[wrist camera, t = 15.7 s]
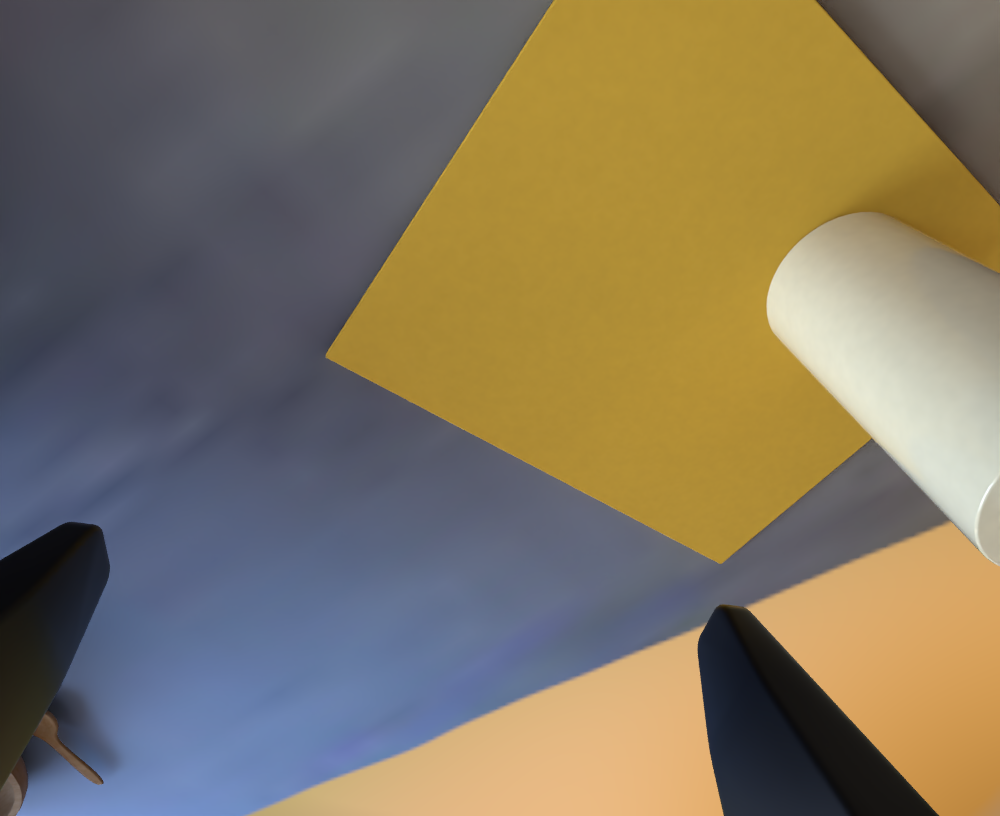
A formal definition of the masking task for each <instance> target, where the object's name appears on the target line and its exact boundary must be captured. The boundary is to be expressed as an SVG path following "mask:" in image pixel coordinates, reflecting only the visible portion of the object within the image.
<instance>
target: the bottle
mask: <svg viewBox="0 0 1000 816" xmlns="http://www.w3.org/2000/svg"><path fill="white" fill-rule="evenodd" d="M767 317H768V322H769V325H770V327H771V330H772V331H773V333H774V335H775V336H776V337H777V338H778V340H779V341H780V342H781V343H782V344H783V345H784V346H785V347H786V348H787V349H788V350H789V351H790V352H791V353H792V355H793V356H794V357H795V358H796V359H797V360H798V361H799V362H800V363H801V364H802V365H803V366H804V367H805V368H806V369H807V370H808V371H809V372H810V373H811V374H812V376H813V377H814V378H815V379H816V380H817V381H818V382H819V383H820V384H821V385H822V386H823V387H824V388H825V389H826V390H827V391H828V392H829V393H830V394H831V395H832V397H833V398H834V399H835V400H836V401H837V402H838V403H839V404H840V405H841V406H842V407H843V408H844V409H845V410H846V411H847V412H848V413H849V414H850V415H851V417H852V418H853V419H854V420H855V421H856V422H857V423H858V424H859V425H860V426H861V427H862V428H863V429H864V430H865V431H866V432H867V433H868V434H869V435H870V436H871V438H872V439H873V440H874V441H875V442H876V443H877V444H878V445H879V446H880V447H881V448H882V449H883V450H884V451H885V452H886V453H887V454H888V455H889V456H890V457H891V459H892V460H893V461H894V462H895V463H896V464H897V465H898V466H899V467H900V468H901V469H902V470H903V471H904V472H905V473H906V474H907V475H908V476H909V477H910V479H911V480H912V481H913V482H914V483H915V484H916V485H917V486H918V487H919V488H920V489H921V490H922V491H923V492H924V493H925V494H926V495H927V496H928V497H929V498H930V500H931V501H932V502H933V503H934V504H935V505H936V506H937V507H938V508H939V509H940V510H941V511H942V512H943V513H944V514H945V515H946V516H947V517H948V518H949V519H950V521H951V522H952V523H953V524H954V525H955V526H956V527H957V528H958V529H959V530H960V531H961V532H962V533H963V534H964V535H965V536H966V537H967V538H968V539H969V540H970V541H971V543H972V544H973V545H974V546H975V547H976V548H977V549H978V550H979V551H980V552H981V553H982V554H983V555H984V556H985V557H986V558H987V559H988V560H990V561H991V562H993V563H995V564H996V565H999V566H1000V272H998V271H996V270H994V269H992V268H990V267H988V266H987V265H985V264H983V263H981V262H979V261H977V260H975V259H973V258H971V257H969V256H967V255H966V254H964V253H962V252H960V251H958V250H956V249H954V248H952V247H950V246H948V245H946V244H945V243H943V242H941V241H939V240H937V239H935V238H933V237H931V236H929V235H927V234H925V233H924V232H922V231H920V230H918V229H916V228H914V227H912V226H910V225H908V224H906V223H904V222H903V221H901V220H899V219H897V218H895V217H892V216H890V215H887V214H883V213H878V212H859V213H853V214H848V215H844V216H841V217H838V218H835V219H833V220H831V221H828V222H826V223H825V224H823V225H821V226H819V227H817V228H816V229H814V230H813V231H811V232H810V233H809V234H807V235H806V236H805V237H804V238H802V239H801V240H800V241H799V242H798V243H797V244H796V245H795V246H794V247H793V248H792V249H791V250H790V251H789V253H788V254H787V255H786V256H785V258H784V259H783V261H782V262H781V264H780V265H779V267H778V268H777V270H776V272H775V274H774V276H773V279H772V281H771V284H770V287H769V291H768V295H767Z"/></svg>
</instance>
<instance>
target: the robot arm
mask: <svg viewBox="0 0 1000 816" xmlns="http://www.w3.org/2000/svg"><path fill="white" fill-rule="evenodd" d="M109 572H110V564H109V559H108V554H107V549H106V545H105V540H104V535H103V532H102V529H101V528H100V527H99V526H97V525H93V524H85V523H77V522H67V523H64V524H62V525H60V526H58V527H56V528H55V529H53V530H51V531H50V532H48V533H46V534H45V535H43V536H41V537H39V538H38V539H36V540H34V541H33V542H31V543H29V544H27V545H26V546H24V547H22V548H21V549H19V550H17V551H15V552H14V553H12V554H10V555H9V556H7V557H5V558H3V559H2V560H0V791H1V789H2V788H3V786H4V784H5V782H6V781H7V779H8V777H9V776H10V774H11V772H12V770H13V769H14V767H15V765H16V763H17V762H18V760H19V758H20V756H21V755H22V753H23V751H24V750H25V748H26V746H27V744H28V743H29V741H30V739H31V737H32V736H33V734H34V732H35V730H36V729H37V727H38V725H39V724H40V722H41V720H42V718H43V717H44V715H45V713H46V711H47V710H48V708H49V706H50V704H51V703H52V701H53V699H54V697H55V695H56V693H57V692H58V690H59V688H60V686H61V684H62V682H63V680H64V678H65V676H66V674H67V671H68V669H69V667H70V665H71V663H72V660H73V658H74V656H75V654H76V651H77V649H78V647H79V644H80V642H81V640H82V638H83V635H84V633H85V631H86V629H87V626H88V624H89V622H90V620H91V617H92V615H93V613H94V610H95V608H96V606H97V604H98V601H99V599H100V597H101V595H102V592H103V590H104V588H105V586H106V583H107V581H108V577H109ZM698 659H699V668H700V676H701V684H702V693H703V702H704V710H705V719H706V727H707V735H708V742H709V749H710V754H711V760H712V765H713V769H714V774H715V778H716V782H717V787H718V792H719V796H720V800H721V804H722V809H723V814H724V816H939V815H938V814H937V813H936V812H935V811H934V810H933V809H932V808H931V807H930V806H929V804H928V803H927V802H926V801H925V800H924V799H923V798H922V797H921V796H920V795H919V794H918V792H917V791H916V790H915V789H914V788H913V787H912V786H911V785H910V784H909V783H908V782H907V781H906V779H904V777H903V776H902V775H901V774H900V773H899V772H898V771H897V770H896V769H895V768H894V766H893V765H892V764H891V763H890V762H889V761H888V760H887V759H886V758H885V757H884V756H883V755H882V754H881V752H880V751H879V750H878V749H877V748H876V747H875V746H874V745H873V744H872V743H871V742H870V741H869V739H867V737H866V736H865V735H864V734H863V733H862V732H861V731H860V730H859V729H858V728H857V726H856V725H855V724H854V723H853V722H852V721H851V720H850V719H849V718H848V717H847V716H846V715H845V714H844V712H843V711H842V710H841V709H840V708H839V707H838V706H837V705H836V704H835V703H834V702H833V700H832V699H831V698H830V697H829V696H828V695H827V694H826V693H825V692H824V691H823V690H822V689H821V688H820V686H819V685H817V683H816V682H815V681H814V680H813V679H812V678H811V677H810V676H809V675H808V673H807V672H806V671H805V670H804V669H803V668H802V667H801V666H800V665H799V664H798V663H797V662H796V661H795V659H794V658H793V657H792V656H791V655H790V654H789V653H788V652H787V651H786V650H785V649H784V648H783V646H782V645H781V644H780V643H779V642H778V641H777V640H776V639H775V638H774V637H773V636H772V635H771V633H770V632H768V630H767V629H766V628H765V627H764V626H763V625H762V624H761V623H760V622H759V621H758V620H757V618H756V617H755V616H754V615H753V614H752V613H751V612H750V611H749V610H748V609H746V608H744V607H740V606H732V605H719V606H718V607H716V609H715V610H714V612H713V614H712V616H711V617H710V619H709V621H708V623H707V624H706V626H705V628H704V630H703V632H702V633H701V635H700V638H699V641H698Z"/></svg>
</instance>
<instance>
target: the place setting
mask: <svg viewBox="0 0 1000 816" xmlns="http://www.w3.org/2000/svg"><path fill="white" fill-rule="evenodd" d="M58 727H59V726H58V721H57V719H56V718H55V716H54V715H53V714H52V713H51V712H50V711H49V710H47V711H46V713H45V715H44V717H43V718H42V720H41V722H40V724H39V725H38V727H37V729H36V730H35V732H34V734H33V735H34V736H36V737H38V738H40V739H42V740H44V741H45V742H47V743H48V744H49V745H50V746H52V747H53V748H54V749H55V750H56V751H57V752H58V753H59V754H60V755H62V756H63V757H64V758H65V759H66V760H67V761H68V762H69V763H70V764H71V765H72V766H73V767H74V768H75V769H77V770H78V771H79V772H80V773H81V774H82V775H83V776H85V777H86V778H87V779H89V780H90V781H92V782H93V783H95V784H98V785H100V784H103V780H102V779H101V777H100V776H99V775H98V774H97V773H96V772H95V771H94V770H93V769H92V768H91V767H90V766H88V765H87V764H86V763H85V762H84V761H82V760H81V759H80V758H79V757H78V756H76V755H75V754H74V753H73V752H72V751H71V750H69V749H68V748H67V747H66V746H65V745H64V744H63V743H62V742H61V741H60V739H59V738H58V735H57V732H58ZM27 787H28V774H27V770H26V766H25V763H24V761H23V759H22V757H21V756H20V758H19V760H18V762H17V763H16V765H15V767H14V769H13V770H12V772H11V774H10V776H9V777H8V779H7V781H6V782H5V784H4V786H3V788H2V789H1V791H0V816H16V814H17V813H18V811H19V810H20V808H21V806H22V803H23V801H24V798H25V795H26V791H27Z"/></svg>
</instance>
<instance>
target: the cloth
mask: <svg viewBox="0 0 1000 816" xmlns="http://www.w3.org/2000/svg"><path fill="white" fill-rule="evenodd" d="M859 212H878V213H883V214H887V215H890V216H892V217H895V218H897V219H899V220H901V221H903V222H904V223H906V224H908V225H910V226H912V227H914V228H916V229H918V230H920V231H922V232H924V233H925V234H927V235H929V236H931V237H933V238H935V239H937V240H939V241H941V242H943V243H945V244H946V245H948V246H950V247H952V248H954V249H956V250H958V251H960V252H962V253H964V254H966V255H967V256H969V257H971V258H973V259H975V260H977V261H979V262H981V263H983V264H985V265H987V266H988V267H990V268H992V269H994V270H996V271H998V272H1000V205H999V204H998V203H997V202H996V201H995V200H994V199H993V198H992V196H991V195H990V194H989V193H988V192H987V191H986V190H985V189H984V188H983V186H982V185H981V184H980V183H979V182H978V181H977V180H976V179H975V177H974V176H973V175H972V174H971V173H970V172H969V171H968V170H967V169H966V167H965V166H964V165H963V164H962V163H961V162H960V161H959V160H958V158H957V157H956V156H955V155H954V154H953V153H952V152H951V151H950V150H949V148H948V147H947V146H946V145H945V144H944V143H943V142H942V141H941V139H940V138H939V137H938V136H937V135H936V134H935V133H934V132H933V131H932V129H931V128H930V127H929V126H928V125H927V124H926V123H925V122H924V121H923V119H922V118H921V117H920V116H919V115H918V114H917V113H916V112H915V110H914V109H913V108H912V107H911V106H910V105H909V104H908V103H907V102H906V100H905V99H904V98H903V97H902V96H901V95H900V94H899V93H898V91H897V90H896V89H895V88H894V87H893V86H892V85H891V84H890V83H889V81H888V80H887V79H886V78H885V77H884V76H883V75H882V74H881V72H880V71H879V70H878V69H877V68H876V67H875V66H874V65H873V64H872V62H871V61H870V60H869V59H868V58H867V57H866V56H865V55H864V54H863V52H862V51H861V50H860V49H859V48H858V47H857V46H856V45H855V43H854V42H853V41H852V40H851V39H850V38H849V37H848V36H847V35H846V33H845V32H844V31H843V30H842V29H841V28H840V27H839V26H838V24H837V23H836V22H835V21H834V20H833V19H832V18H831V17H830V16H829V14H828V13H827V12H826V11H825V10H824V9H823V8H822V7H821V5H820V4H819V3H818V2H817V1H816V0H554V1H553V2H552V4H551V5H550V7H549V8H548V10H547V11H546V13H545V15H544V16H543V18H542V19H541V21H540V22H539V24H538V25H537V27H536V29H535V30H534V32H533V33H532V35H531V36H530V38H529V39H528V41H527V42H526V44H525V46H524V47H523V49H522V50H521V52H520V53H519V55H518V56H517V58H516V60H515V61H514V63H513V64H512V66H511V67H510V69H509V70H508V72H507V74H506V75H505V77H504V78H503V80H502V81H501V83H500V84H499V86H498V87H497V89H496V91H495V92H494V94H493V95H492V97H491V98H490V100H489V101H488V103H487V105H486V106H485V108H484V109H483V111H482V112H481V114H480V115H479V117H478V119H477V120H476V122H475V123H474V125H473V126H472V128H471V129H470V131H469V133H468V134H467V136H466V137H465V139H464V140H463V142H462V143H461V145H460V146H459V148H458V150H457V151H456V153H455V154H454V156H453V157H452V159H451V160H450V162H449V164H448V165H447V167H446V168H445V170H444V171H443V173H442V174H441V176H440V178H439V179H438V181H437V182H436V184H435V185H434V187H433V188H432V190H431V192H430V193H429V195H428V196H427V198H426V199H425V201H424V202H423V204H422V205H421V207H420V209H419V210H418V212H417V213H416V215H415V216H414V218H413V219H412V221H411V223H410V224H409V226H408V227H407V229H406V230H405V232H404V233H403V235H402V237H401V238H400V240H399V241H398V243H397V244H396V246H395V247H394V249H393V251H392V252H391V254H390V255H389V257H388V258H387V260H386V261H385V263H384V264H383V266H382V268H381V269H380V271H379V272H378V274H377V275H376V277H375V278H374V280H373V282H372V283H371V285H370V286H369V288H368V289H367V291H366V292H365V294H364V296H363V297H362V299H361V300H360V302H359V303H358V305H357V306H356V308H355V309H354V311H353V313H352V314H351V316H350V317H349V319H348V320H347V322H346V323H345V325H344V327H343V328H342V330H341V331H340V333H339V334H338V336H337V337H336V339H335V341H334V342H333V344H332V345H331V347H330V348H329V350H328V351H327V353H326V358H328V359H330V360H332V361H334V362H336V363H338V364H340V365H342V366H344V367H345V368H347V369H349V370H351V371H353V372H355V373H357V374H359V375H361V376H363V377H365V378H366V379H368V380H370V381H372V382H374V383H376V384H378V385H380V386H382V387H384V388H386V389H387V390H389V391H391V392H393V393H395V394H397V395H399V396H401V397H403V398H405V399H407V400H408V401H410V402H412V403H414V404H416V405H418V406H420V407H422V408H424V409H426V410H428V411H429V412H431V413H433V414H435V415H437V416H439V417H441V418H443V419H445V420H447V421H449V422H450V423H452V424H454V425H456V426H458V427H460V428H462V429H464V430H466V431H468V432H470V433H471V434H473V435H475V436H477V437H479V438H481V439H483V440H485V441H487V442H489V443H491V444H492V445H494V446H496V447H498V448H500V449H502V450H504V451H506V452H508V453H510V454H512V455H513V456H515V457H517V458H519V459H521V460H523V461H525V462H527V463H529V464H531V465H533V466H534V467H536V468H538V469H540V470H542V471H544V472H546V473H548V474H550V475H552V476H554V477H555V478H557V479H559V480H561V481H563V482H565V483H567V484H569V485H571V486H573V487H574V488H576V489H578V490H580V491H582V492H584V493H586V494H588V495H590V496H592V497H594V498H595V499H597V500H599V501H601V502H603V503H605V504H607V505H609V506H611V507H613V508H615V509H616V510H618V511H620V512H622V513H624V514H626V515H628V516H630V517H632V518H634V519H636V520H637V521H639V522H641V523H643V524H645V525H647V526H649V527H651V528H653V529H655V530H657V531H658V532H660V533H662V534H664V535H666V536H668V537H670V538H672V539H674V540H676V541H678V542H679V543H681V544H683V545H685V546H687V547H689V548H691V549H693V550H695V551H697V552H699V553H700V554H702V555H704V556H706V557H708V558H710V559H712V560H714V561H716V562H718V563H720V564H722V563H723V562H724V561H725V560H726V559H728V558H729V557H730V556H731V555H732V554H734V553H735V552H736V551H737V550H738V549H740V548H741V547H742V546H743V545H744V544H746V543H747V542H748V541H749V540H750V539H752V538H753V537H754V536H755V535H756V534H758V533H759V532H760V531H761V530H762V529H764V528H765V527H766V526H767V525H768V524H770V523H771V522H772V521H773V520H774V519H776V518H777V517H778V516H779V515H780V514H782V513H783V512H784V511H785V510H786V509H788V508H789V507H790V506H791V505H792V504H794V503H795V502H796V501H797V500H798V499H800V498H801V497H802V496H803V495H804V494H806V493H807V492H808V491H809V490H810V489H812V488H813V487H814V486H815V485H816V484H818V483H819V482H820V481H821V480H822V479H824V478H825V477H826V476H827V475H828V474H830V473H831V472H832V471H833V470H834V469H836V468H837V467H838V466H839V465H840V464H842V463H843V462H844V461H845V460H846V459H848V458H849V457H850V456H851V455H852V454H854V453H855V452H856V451H857V450H858V449H860V448H861V447H862V446H863V445H864V444H866V443H867V442H868V441H869V440H870V439H872V438H871V436H870V435H869V434H868V433H867V432H866V431H865V430H864V429H863V428H862V427H861V426H860V425H859V424H858V423H857V422H856V421H855V420H854V419H853V418H852V417H851V415H850V414H849V413H848V412H847V411H846V410H845V409H844V408H843V407H842V406H841V405H840V404H839V403H838V402H837V401H836V400H835V399H834V398H833V397H832V395H831V394H830V393H829V392H828V391H827V390H826V389H825V388H824V387H823V386H822V385H821V384H820V383H819V382H818V381H817V380H816V379H815V378H814V377H813V376H812V374H811V373H810V372H809V371H808V370H807V369H806V368H805V367H804V366H803V365H802V364H801V363H800V362H799V361H798V360H797V359H796V358H795V357H794V356H793V355H792V353H791V352H790V351H789V350H788V349H787V348H786V347H785V346H784V345H783V344H782V343H781V342H780V341H779V340H778V338H777V337H776V336H775V335H774V333H773V331H772V330H771V327H770V325H769V322H768V317H767V295H768V291H769V287H770V284H771V281H772V279H773V276H774V274H775V272H776V270H777V268H778V267H779V265H780V264H781V262H782V261H783V259H784V258H785V256H786V255H787V254H788V253H789V251H790V250H791V249H792V248H793V247H794V246H795V245H796V244H797V243H798V242H799V241H800V240H801V239H802V238H804V237H805V236H806V235H807V234H809V233H810V232H811V231H813V230H814V229H816V228H817V227H819V226H821V225H823V224H825V223H826V222H828V221H831V220H833V219H835V218H838V217H841V216H844V215H848V214H853V213H859Z"/></svg>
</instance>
